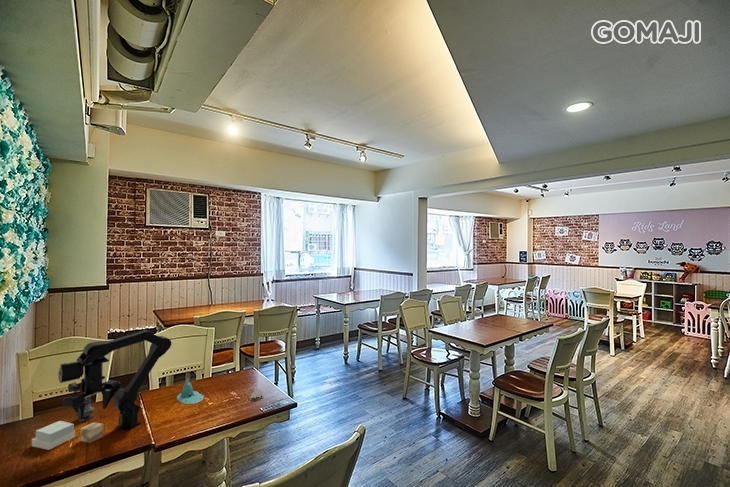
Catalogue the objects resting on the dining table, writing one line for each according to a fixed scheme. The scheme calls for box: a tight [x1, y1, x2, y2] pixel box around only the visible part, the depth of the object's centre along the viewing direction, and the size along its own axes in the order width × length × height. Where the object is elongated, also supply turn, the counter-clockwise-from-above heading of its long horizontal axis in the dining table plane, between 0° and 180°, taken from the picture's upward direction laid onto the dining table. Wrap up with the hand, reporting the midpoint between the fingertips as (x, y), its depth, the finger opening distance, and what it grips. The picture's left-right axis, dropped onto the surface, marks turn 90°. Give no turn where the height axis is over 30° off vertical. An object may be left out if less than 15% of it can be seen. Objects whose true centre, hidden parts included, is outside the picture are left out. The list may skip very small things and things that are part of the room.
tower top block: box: [35, 420, 75, 442], centre depth 133 cm, size 8×8×3 cm
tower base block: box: [31, 430, 76, 451], centre depth 133 cm, size 9×9×3 cm
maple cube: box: [80, 422, 104, 444], centre depth 135 cm, size 5×5×5 cm
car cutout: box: [250, 389, 264, 399], centre depth 171 cm, size 15×7×4 cm, turn 121°
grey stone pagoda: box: [77, 396, 95, 422], centre depth 151 cm, size 6×6×12 cm
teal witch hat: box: [176, 378, 204, 405], centre depth 173 cm, size 12×20×9 cm, turn 47°
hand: (92, 414), depth 135 cm, fingers open, 9 cm apart
